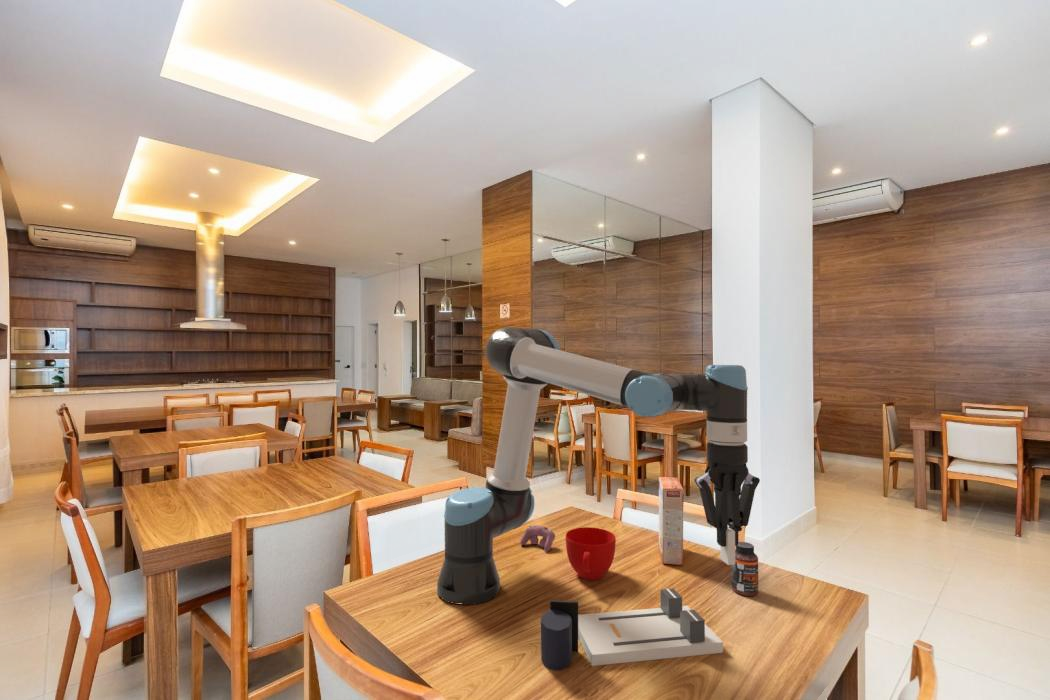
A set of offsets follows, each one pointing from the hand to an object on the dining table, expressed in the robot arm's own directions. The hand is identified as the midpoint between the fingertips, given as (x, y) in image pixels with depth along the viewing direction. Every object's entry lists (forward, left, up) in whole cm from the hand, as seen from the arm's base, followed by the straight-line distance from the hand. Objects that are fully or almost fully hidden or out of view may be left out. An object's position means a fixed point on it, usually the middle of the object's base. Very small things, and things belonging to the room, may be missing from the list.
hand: (727, 561), depth 97 cm
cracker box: (+8, +43, -16) cm, 46 cm away
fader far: (-8, +9, -14) cm, 18 cm away
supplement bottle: (+16, +20, -16) cm, 30 cm away
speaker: (-34, 0, -16) cm, 38 cm away
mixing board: (-16, +5, -16) cm, 23 cm away
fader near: (-8, 0, -14) cm, 16 cm away
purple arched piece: (-28, +55, -16) cm, 64 cm away
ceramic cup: (-19, +33, -16) cm, 41 cm away
